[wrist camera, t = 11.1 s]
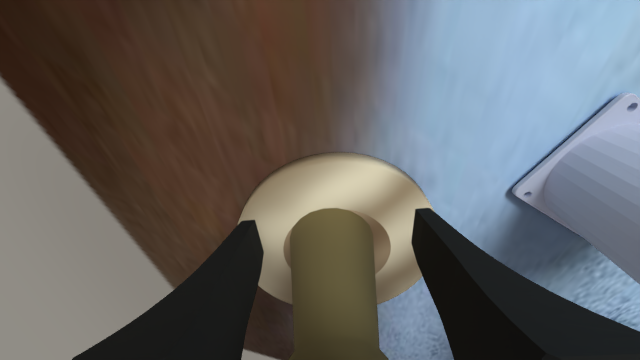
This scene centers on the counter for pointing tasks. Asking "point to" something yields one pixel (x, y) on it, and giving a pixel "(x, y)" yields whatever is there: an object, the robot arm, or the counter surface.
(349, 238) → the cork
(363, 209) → the birch stand
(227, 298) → the robot arm
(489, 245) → the counter surface
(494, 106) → the counter surface
